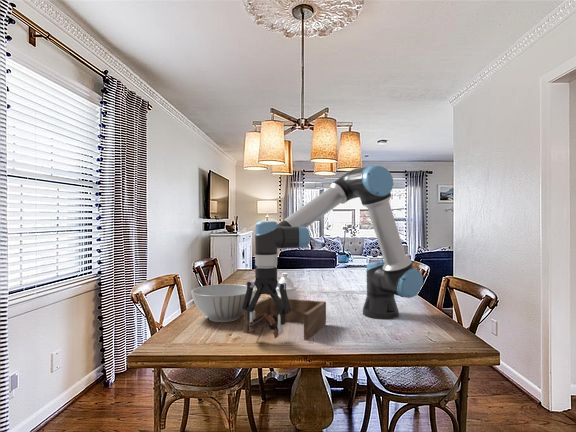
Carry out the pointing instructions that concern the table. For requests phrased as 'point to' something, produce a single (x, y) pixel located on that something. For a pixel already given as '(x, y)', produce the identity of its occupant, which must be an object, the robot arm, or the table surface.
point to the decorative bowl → (221, 301)
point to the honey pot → (288, 287)
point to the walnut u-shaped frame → (294, 314)
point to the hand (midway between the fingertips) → (266, 332)
